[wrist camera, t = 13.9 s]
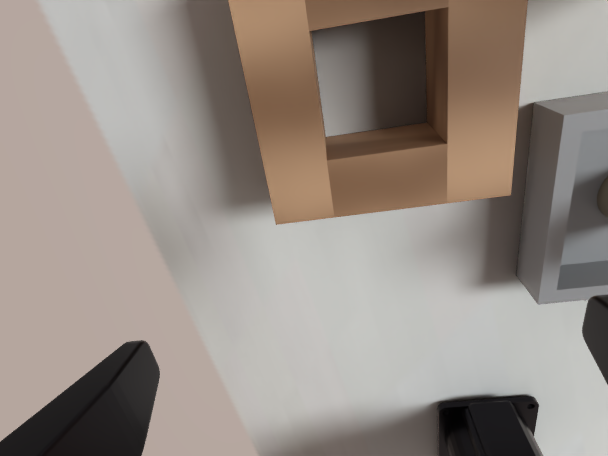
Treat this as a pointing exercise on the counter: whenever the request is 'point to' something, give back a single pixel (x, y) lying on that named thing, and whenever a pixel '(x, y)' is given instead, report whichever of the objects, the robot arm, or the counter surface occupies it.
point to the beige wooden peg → (603, 198)
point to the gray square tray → (565, 201)
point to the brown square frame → (390, 141)
